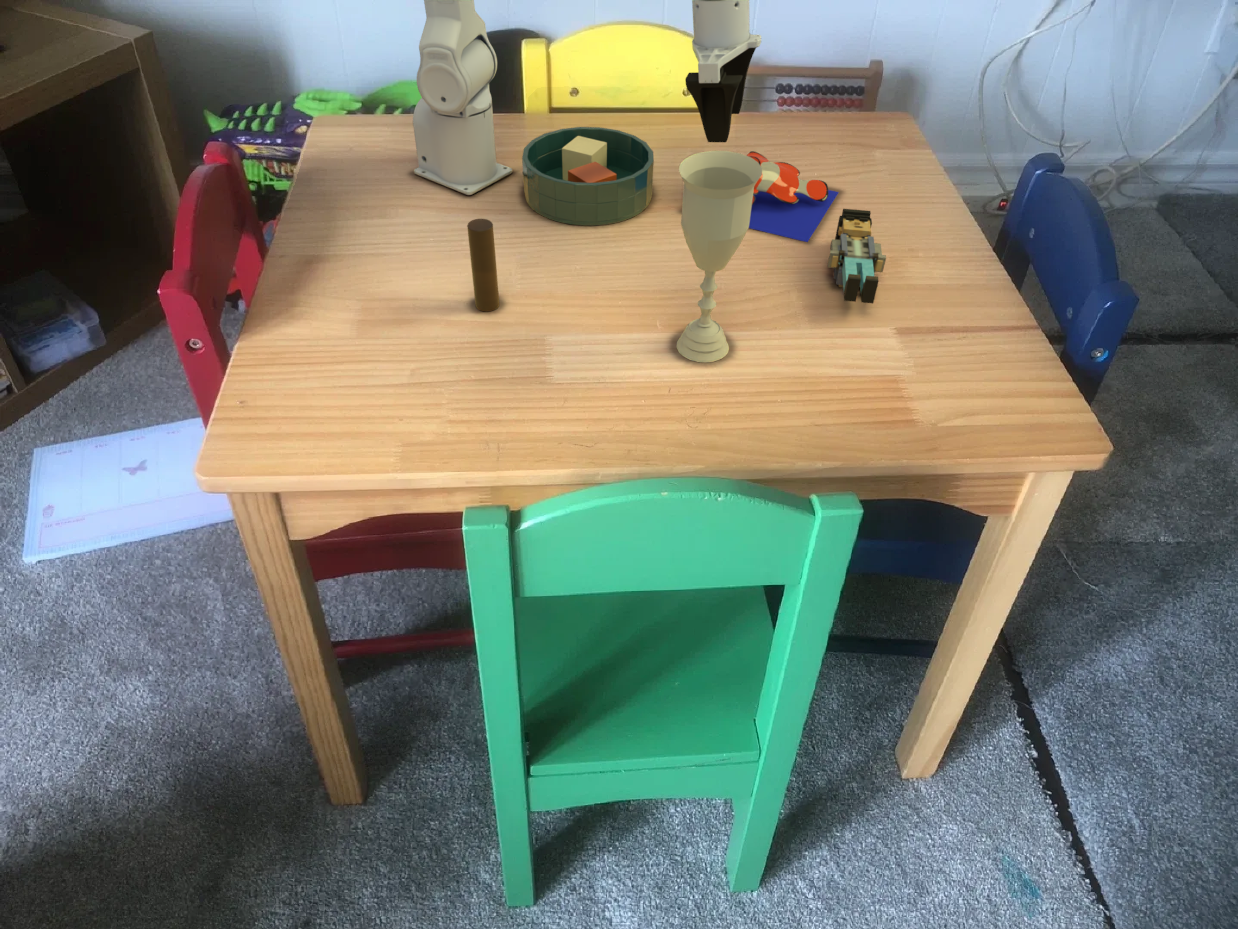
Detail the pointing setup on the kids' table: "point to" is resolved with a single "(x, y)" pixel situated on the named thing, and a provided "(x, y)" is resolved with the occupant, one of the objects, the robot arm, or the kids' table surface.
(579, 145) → the cream block
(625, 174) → the bowl
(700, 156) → the chalice
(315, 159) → the kids' table surface
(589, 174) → the terracotta block
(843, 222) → the toy
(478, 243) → the dark brown cylinder
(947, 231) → the kids' table surface
